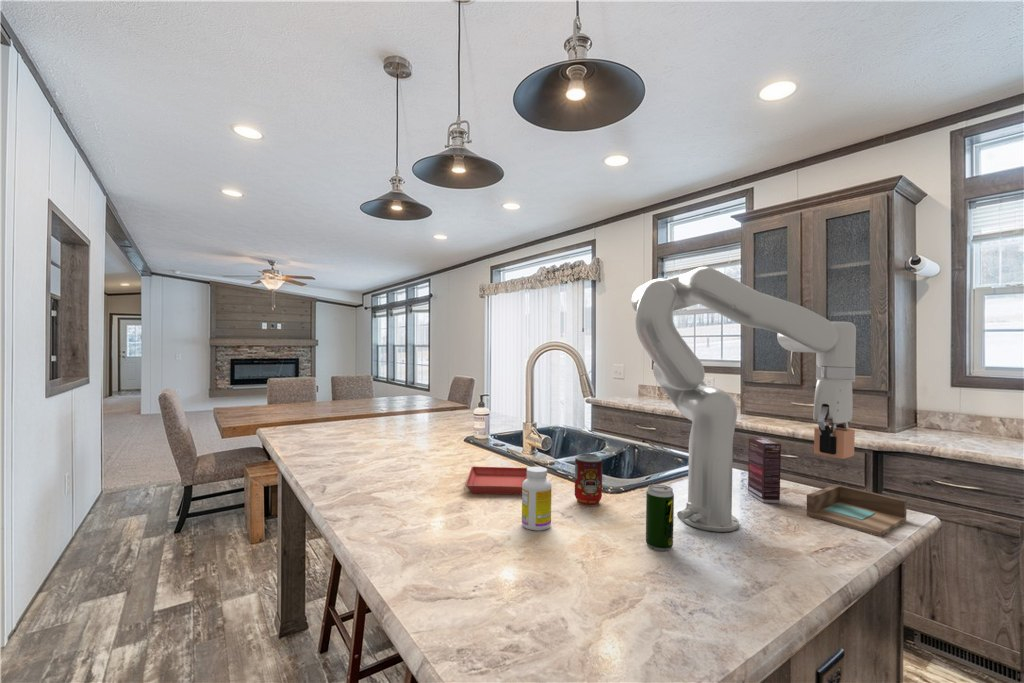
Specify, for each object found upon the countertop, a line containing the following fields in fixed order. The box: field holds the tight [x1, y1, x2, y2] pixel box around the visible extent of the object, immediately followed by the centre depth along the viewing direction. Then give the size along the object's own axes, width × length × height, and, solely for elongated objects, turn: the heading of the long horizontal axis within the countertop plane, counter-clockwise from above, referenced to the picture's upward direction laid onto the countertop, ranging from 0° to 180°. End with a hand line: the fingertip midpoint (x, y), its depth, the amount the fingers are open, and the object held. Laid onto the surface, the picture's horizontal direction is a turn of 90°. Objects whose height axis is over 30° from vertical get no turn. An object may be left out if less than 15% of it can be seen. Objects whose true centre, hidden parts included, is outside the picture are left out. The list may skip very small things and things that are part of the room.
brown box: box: [813, 426, 856, 460], centre depth 108 cm, size 6×6×6 cm
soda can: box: [574, 452, 604, 507], centre depth 121 cm, size 7×7×12 cm
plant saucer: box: [465, 466, 528, 495], centre depth 134 cm, size 18×18×3 cm
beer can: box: [645, 483, 675, 552], centre depth 95 cm, size 5×5×12 cm
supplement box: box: [747, 436, 782, 504], centre depth 127 cm, size 9×5×16 cm, turn 179°
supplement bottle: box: [521, 466, 552, 532], centre depth 105 cm, size 7×7×13 cm
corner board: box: [805, 483, 908, 537], centre depth 113 cm, size 17×15×5 cm
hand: (833, 450), depth 108 cm, fingers closed on brown box, 6 cm apart
